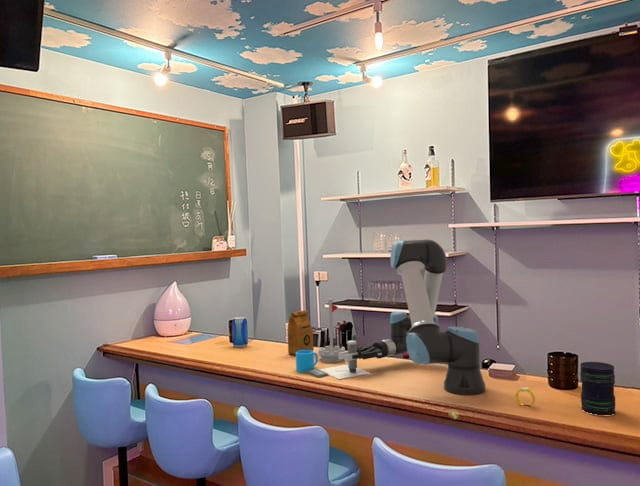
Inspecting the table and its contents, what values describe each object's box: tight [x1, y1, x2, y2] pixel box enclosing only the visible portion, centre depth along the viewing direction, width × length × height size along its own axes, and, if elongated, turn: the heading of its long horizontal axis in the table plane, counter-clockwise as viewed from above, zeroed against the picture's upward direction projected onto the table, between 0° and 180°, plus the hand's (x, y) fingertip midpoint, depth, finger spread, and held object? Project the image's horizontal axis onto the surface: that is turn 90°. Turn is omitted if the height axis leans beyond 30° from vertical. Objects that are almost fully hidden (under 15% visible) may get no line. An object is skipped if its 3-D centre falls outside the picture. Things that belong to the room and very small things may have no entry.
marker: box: [346, 340, 358, 372], centre depth 221 cm, size 4×4×13 cm
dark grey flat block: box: [306, 368, 329, 379], centre depth 222 cm, size 10×5×1 cm, turn 30°
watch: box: [515, 386, 536, 407], centre depth 174 cm, size 6×3×6 cm, turn 51°
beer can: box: [231, 316, 249, 349], centre depth 286 cm, size 8×8×16 cm
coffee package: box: [287, 309, 315, 356], centre depth 263 cm, size 10×12×22 cm
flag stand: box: [318, 297, 346, 363], centre depth 247 cm, size 13×13×30 cm
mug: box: [295, 350, 319, 373], centre depth 231 cm, size 12×8×8 cm
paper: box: [318, 363, 371, 381], centre depth 224 cm, size 18×16×1 cm
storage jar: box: [579, 361, 616, 415], centre depth 166 cm, size 10×10×15 cm
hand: (342, 357), depth 218 cm, fingers closed on marker, 4 cm apart
